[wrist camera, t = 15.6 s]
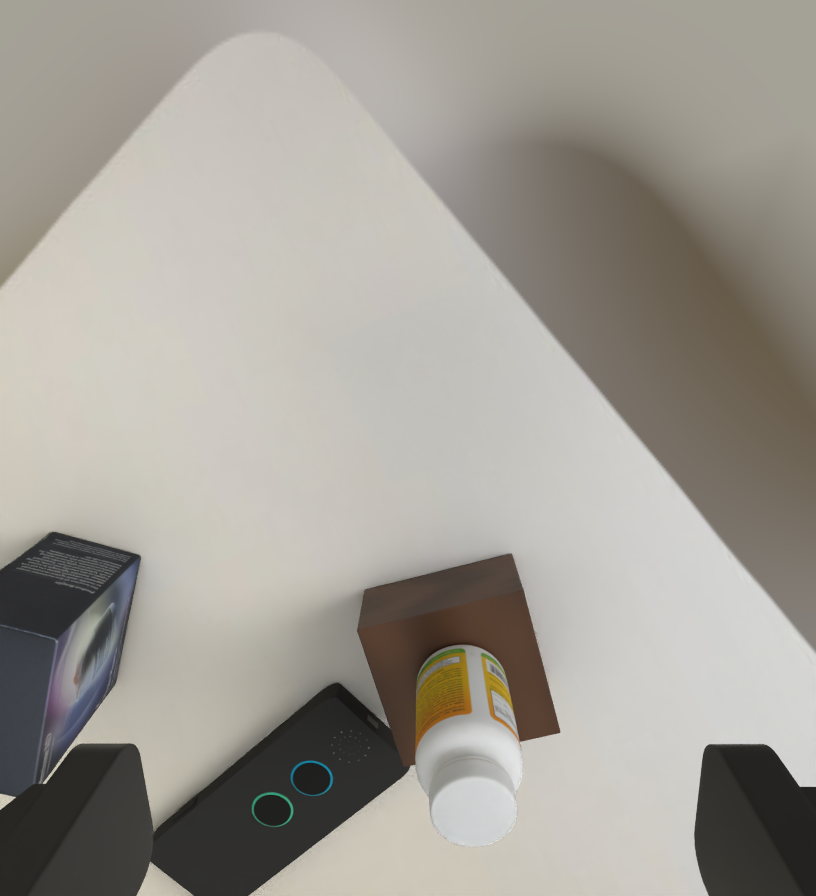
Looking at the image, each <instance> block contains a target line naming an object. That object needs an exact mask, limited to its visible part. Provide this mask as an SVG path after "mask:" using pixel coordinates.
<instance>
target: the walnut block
mask: <svg viewBox="0 0 816 896" xmlns="http://www.w3.org/2000/svg"><path fill="white" fill-rule="evenodd" d="M357 632H358V635H359V638H360V640H361V643H362V646H363V649H364V652H365V655H366V658H367V661H368V664H369V667H370V670H371V673H372V676H373V679H374V681H375V684H376V687H377V690H378V693H379V696H380V699H381V702H382V705H383V708H384V711H385V714H386V717H387V720H388V722H389V725H390V728H391V731H392V734H393V737H394V740H395V743H396V746H397V749H398V752H399V755H400V758H401V761H402V763H403V766H404V767H406V766H411V765H415V764H416V762H415V748H416V686H417V677H418V674H419V671H420V669H421V667H422V665H423V664H424V662H425V661H426V660H427V659H428V658H429V657H430V656H431V655H432V654H434V653H435V652H437V651H438V650H441V649H443V648H446V647H449V646H453V645H471V646H476V647H479V648H481V649H484V650H485V651H487V652H489V653H490V654H491V655H493V656H494V657H495V658H496V659H497V660H498V662H499V663H500V664H501V666H502V668H503V670H504V672H505V675H506V679H507V683H508V687H509V692H510V697H511V702H512V707H513V711H514V716H515V721H516V727H517V731H518V736H519V741H520V742H521V741H525V740H530V739H534V738H539V737H543V736H548V735H553V734H557V733H560V728H559V724H558V721H557V717H556V713H555V709H554V705H553V701H552V698H551V694H550V690H549V686H548V682H547V679H546V675H545V671H544V667H543V663H542V659H541V656H540V652H539V648H538V644H537V640H536V636H535V633H534V629H533V625H532V621H531V617H530V614H529V610H528V606H527V602H526V598H525V594H524V591H523V587H522V584H521V581H520V578H519V575H518V571H517V568H516V565H515V562H514V559H513V556H512V554H508V555H504V556H500V557H496V558H492V559H488V560H484V561H480V562H476V563H472V564H468V565H464V566H460V567H456V568H451V569H447V570H443V571H439V572H435V573H431V574H427V575H423V576H419V577H415V578H411V579H407V580H403V581H399V582H395V583H391V584H387V585H383V586H379V587H375V588H371V589H367V590H365V591H364V597H363V602H362V607H361V613H360V618H359V623H358V629H357Z"/></svg>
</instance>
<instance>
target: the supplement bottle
mask: <svg viewBox="0 0 816 896" xmlns="http://www.w3.org/2000/svg"><path fill="white" fill-rule="evenodd" d="M415 762H416V772H417V776H418V780H419V783H420V785H421V787H422V789H423V790H424V792H425V793H426V794H427V796H428V797H429V804H430V817H431V821H432V823H433V825H434V827H435V829H436V830H437V831H438V833H439V834H440V835H441V836H443V837H444V838H445V839H447V840H448V841H450V842H452V843H454V844H457V845H460V846H466V847H482V846H486V845H490V844H492V843H495V842H497V841H499V840H501V839H502V838H503V837H504V836H506V835H507V834H508V833H509V832H510V830H511V829H512V827H513V825H514V823H515V821H516V817H517V803H516V796H515V792H516V790H517V789H518V787H519V784H520V782H521V779H522V774H523V758H522V751H521V745H520V741H519V736H518V731H517V727H516V721H515V716H514V711H513V707H512V702H511V697H510V692H509V687H508V683H507V679H506V675H505V672H504V670H503V668H502V666H501V664H500V663H499V662H498V660H497V659H496V658H495V657H494V656H493V655H491V654H490V653H489V652H487V651H485V650H484V649H481V648H479V647H476V646H471V645H453V646H449V647H446V648H443V649H441V650H438V651H437V652H435V653H434V654H432V655H431V656H430V657H429V658H428V659H427V660H426V661H425V662H424V664H423V665H422V667H421V669H420V671H419V674H418V677H417V686H416V748H415Z"/></svg>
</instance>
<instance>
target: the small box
mask: <svg viewBox="0 0 816 896" xmlns="http://www.w3.org/2000/svg"><path fill="white" fill-rule="evenodd" d="M140 559H141V557H140V556H139V555H136V554H133V553H130V552H126V551H123V550H119V549H115V548H112V547H108V546H104V545H101V544H97V543H93V542H89V541H86V540H82V539H78V538H74V537H71V536H67V535H63V534H60V533H56V532H52V533H50V534H48V535H47V536H46V537H45V538H44V539H42V540H41V541H39V542H38V543H37V544H35V545H34V546H33V547H32V548H30V549H29V550H27V551H26V552H25V553H23V554H22V555H21V556H20V557H18V558H16V559H15V560H14V561H12V562H11V563H10V564H8V565H7V566H5V567H4V568H2V569H1V570H0V794H4V795H9V796H13V797H18V796H19V795H20V794H21V793H23V792H24V791H25V790H26V789H28V788H29V787H30V786H32V785H33V784H43V782H44V781H45V779H46V778H47V777H48V775H49V774H50V773H51V772H52V770H53V769H54V767H55V766H56V764H57V763H58V762H59V760H60V759H61V758H62V756H63V755H64V753H65V752H66V751H67V749H68V748H69V747H70V745H71V744H72V742H73V741H74V740H75V738H76V737H77V736H78V734H79V733H80V732H81V730H82V729H83V727H84V726H85V725H86V723H87V722H88V721H89V719H90V718H91V716H92V715H93V714H94V712H95V711H96V710H97V708H98V707H99V706H100V704H101V703H102V701H103V700H104V699H105V697H106V696H107V695H108V693H109V692H110V691H111V689H112V688H113V687H114V685H115V683H116V679H117V673H118V668H119V663H120V658H121V653H122V648H123V643H124V638H125V633H126V629H127V623H128V619H129V613H130V609H131V604H132V599H133V593H134V588H135V584H136V579H137V573H138V569H139V563H140Z"/></svg>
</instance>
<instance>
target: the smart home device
mask: <svg viewBox="0 0 816 896" xmlns="http://www.w3.org/2000/svg"><path fill="white" fill-rule="evenodd" d="M409 768H410V766H406V767H404V766H403V763H402V761H401V758H400V755H399V752H398V749H397V746H396V743H395V740H394V737H393V734H392V731H391V730H390V729H389V728H388V727H387V726H386V725H384V724H383V723H382V722H381V721H380V720H379V719H378V718H377V717H376V716H375V715H373V714H372V713H371V712H370V711H369V710H368V709H367V708H366V707H365V706H364V705H362V704H361V703H360V702H359V701H358V700H357V699H356V698H355V697H354V696H352V695H351V694H350V693H349V692H348V691H347V690H346V689H345V688H344V687H343V686H341V685H340V684H332V685H330V686H328V687H326V688H325V689H324V690H322V691H321V692H320V693H319V694H318V695H316V696H315V697H314V698H313V699H312V700H310V701H309V702H308V703H307V704H306V705H304V706H303V707H302V708H301V709H300V710H298V711H297V712H296V713H295V714H294V715H292V716H291V717H290V718H289V719H288V720H286V721H285V722H284V723H283V724H282V725H280V726H279V727H278V728H277V729H276V730H274V731H273V732H272V733H271V734H270V735H269V736H267V737H266V738H265V739H264V740H263V741H261V742H260V743H259V744H258V745H257V746H255V747H254V748H253V749H252V750H251V751H249V752H248V753H247V754H246V755H245V756H243V757H242V758H241V759H240V760H239V761H237V762H236V763H235V764H234V765H233V766H231V767H230V768H229V769H228V770H227V771H225V772H224V773H223V774H222V775H221V776H219V777H218V778H217V779H216V780H215V781H213V782H212V783H211V784H210V785H209V786H208V787H206V788H205V789H204V790H203V791H202V792H200V793H199V794H198V795H197V796H196V797H194V798H193V799H192V800H191V801H190V802H188V803H187V804H186V805H185V806H184V807H182V808H181V809H180V810H179V811H178V812H176V813H175V814H174V815H173V816H172V817H170V818H169V819H168V820H167V821H166V822H164V823H163V824H162V825H161V826H160V827H159V828H158V829H157V830H156V831H155V832H154V834H153V848H152V854H151V859H150V862H152V863H153V864H154V865H155V866H157V867H158V868H159V869H161V870H162V871H163V872H164V873H166V874H167V875H168V876H170V877H171V878H172V879H173V880H175V881H176V882H177V883H179V884H180V885H181V886H182V887H184V888H185V889H186V890H187V891H189V892H190V893H191V894H193V895H194V896H248V895H250V894H251V893H252V892H254V891H255V890H256V889H258V888H259V887H260V886H261V885H263V884H264V883H265V882H267V881H268V880H269V879H271V878H272V877H273V876H274V875H276V874H277V873H278V872H280V871H281V870H282V869H284V868H285V867H286V866H287V865H289V864H290V863H291V862H293V861H294V860H295V859H297V858H298V857H299V856H300V855H302V854H303V853H304V852H306V851H307V850H308V849H309V848H311V847H312V846H313V845H315V844H316V843H317V842H319V841H320V840H321V839H322V838H324V837H325V836H326V835H328V834H329V833H330V832H332V831H333V830H334V829H335V828H337V827H338V826H339V825H341V824H342V823H343V822H345V821H346V820H347V819H348V818H350V817H351V816H352V815H354V814H355V813H356V812H358V811H359V810H360V809H361V808H363V807H364V806H365V805H367V804H368V803H369V802H370V801H372V800H373V799H374V798H376V797H377V796H378V795H380V794H381V793H382V792H383V791H385V790H386V789H387V788H389V787H390V786H391V785H393V784H394V783H395V782H396V781H398V780H399V779H400V778H402V777H403V776H404V775H405V774H406V773H407V771H408V770H409Z"/></svg>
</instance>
